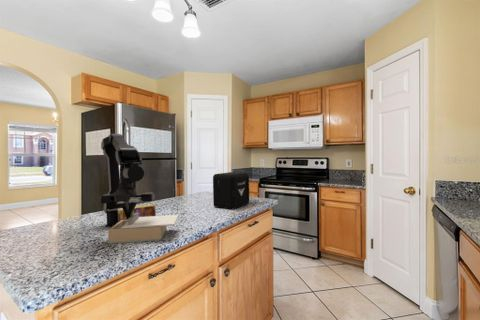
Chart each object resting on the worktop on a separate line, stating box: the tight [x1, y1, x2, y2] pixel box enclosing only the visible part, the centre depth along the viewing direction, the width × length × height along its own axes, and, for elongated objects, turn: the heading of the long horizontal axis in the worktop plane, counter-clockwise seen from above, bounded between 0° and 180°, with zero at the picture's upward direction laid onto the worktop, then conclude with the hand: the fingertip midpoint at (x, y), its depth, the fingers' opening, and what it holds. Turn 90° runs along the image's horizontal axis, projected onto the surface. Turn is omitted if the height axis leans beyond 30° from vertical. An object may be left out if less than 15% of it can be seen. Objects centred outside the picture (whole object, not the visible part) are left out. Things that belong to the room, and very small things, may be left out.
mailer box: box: [107, 220, 168, 245], centre depth 91 cm, size 18×13×5 cm
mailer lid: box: [121, 213, 180, 228], centre depth 92 cm, size 19×14×3 cm
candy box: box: [118, 203, 157, 222], centre depth 104 cm, size 9×4×15 cm
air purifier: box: [212, 171, 250, 210], centre depth 144 cm, size 20×15×20 cm
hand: (129, 219), depth 91 cm, fingers closed
